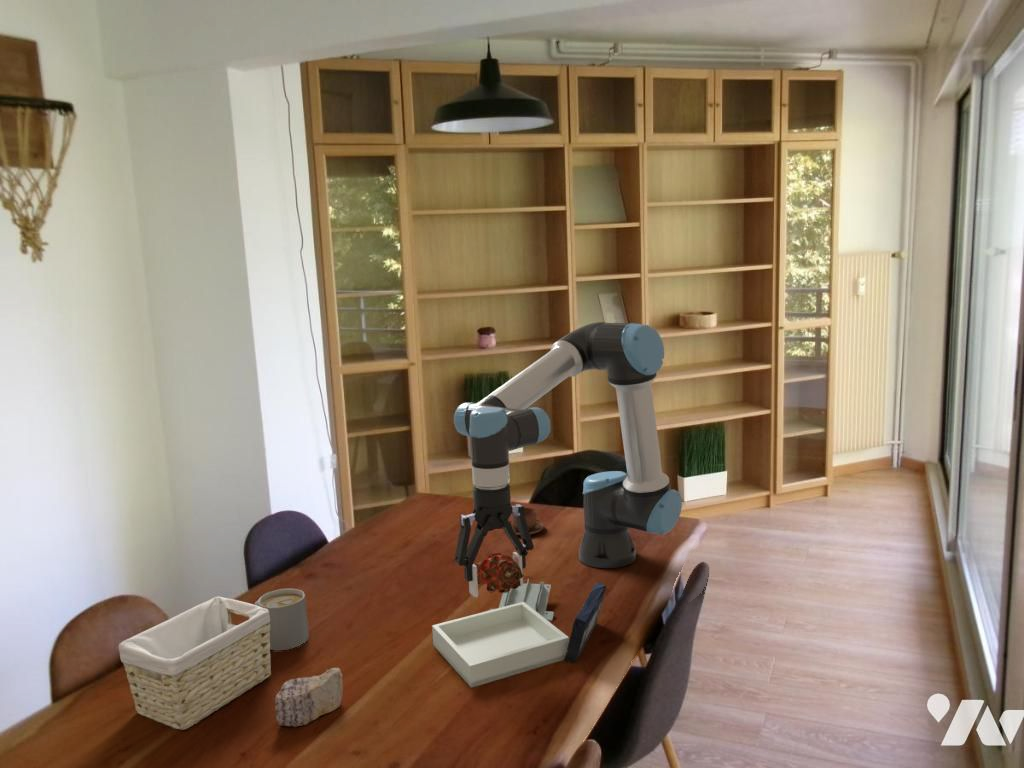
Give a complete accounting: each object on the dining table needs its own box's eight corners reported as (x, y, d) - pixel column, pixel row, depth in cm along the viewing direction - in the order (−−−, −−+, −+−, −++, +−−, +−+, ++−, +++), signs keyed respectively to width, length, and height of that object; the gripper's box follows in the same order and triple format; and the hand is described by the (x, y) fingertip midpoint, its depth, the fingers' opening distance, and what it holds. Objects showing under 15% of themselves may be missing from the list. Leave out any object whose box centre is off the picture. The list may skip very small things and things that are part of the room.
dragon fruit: (522, 606, 165) (477, 600, 173) (538, 570, 170) (494, 566, 178) (501, 581, 161) (456, 577, 169) (518, 545, 166) (474, 543, 174)
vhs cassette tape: (575, 665, 166) (586, 622, 163) (561, 660, 167) (572, 616, 164) (598, 625, 183) (608, 585, 180) (586, 621, 184) (596, 581, 181)
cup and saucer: (507, 524, 250) (506, 505, 249) (546, 525, 248) (545, 505, 247) (500, 538, 239) (500, 518, 238) (542, 539, 237) (541, 518, 236)
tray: (524, 620, 186) (523, 601, 185) (569, 658, 168) (568, 637, 167) (433, 645, 176) (432, 625, 175) (471, 687, 158) (469, 666, 158)
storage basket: (179, 739, 146) (169, 662, 144) (123, 715, 154) (113, 642, 152) (280, 676, 166) (273, 607, 164) (225, 658, 175) (218, 593, 172)
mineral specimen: (326, 689, 160) (323, 657, 159) (350, 703, 155) (347, 670, 154) (263, 721, 150) (259, 687, 149) (286, 737, 145) (282, 701, 144)
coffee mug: (317, 637, 182) (314, 595, 180) (279, 656, 174) (275, 611, 173) (281, 622, 190) (277, 581, 189) (244, 639, 183) (239, 596, 181)
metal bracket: (497, 574, 199) (559, 576, 196) (500, 593, 201) (561, 595, 198) (485, 615, 186) (550, 618, 183) (488, 635, 189) (552, 638, 185)
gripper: (531, 471, 174) (535, 571, 178) (433, 489, 165) (439, 594, 168) (548, 479, 168) (552, 583, 171) (447, 498, 158) (453, 608, 162)
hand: (496, 589), depth 170 cm, fingers closed on dragon fruit, 9 cm apart
